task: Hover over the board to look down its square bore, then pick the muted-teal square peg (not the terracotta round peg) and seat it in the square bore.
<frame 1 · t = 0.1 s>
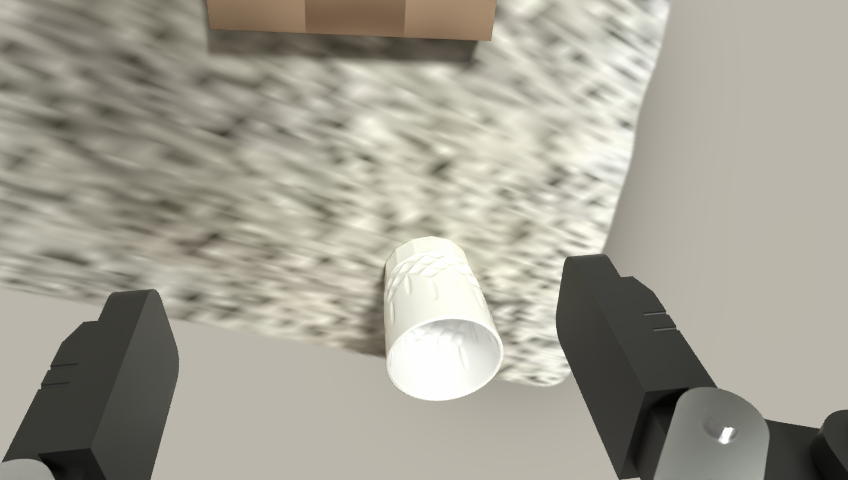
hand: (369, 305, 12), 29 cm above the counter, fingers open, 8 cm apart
white cup: (425, 268, 49), on the counter
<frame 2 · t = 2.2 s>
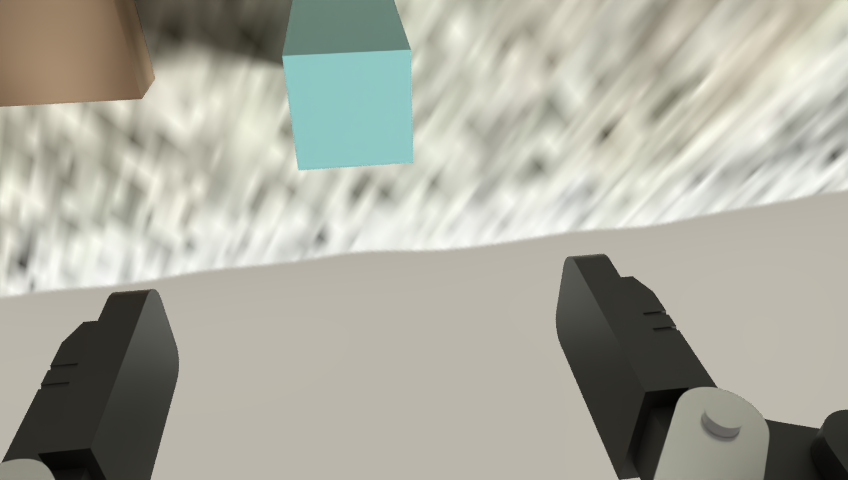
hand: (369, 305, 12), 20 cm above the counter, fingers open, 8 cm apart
square peg: (345, 26, 28), on the counter
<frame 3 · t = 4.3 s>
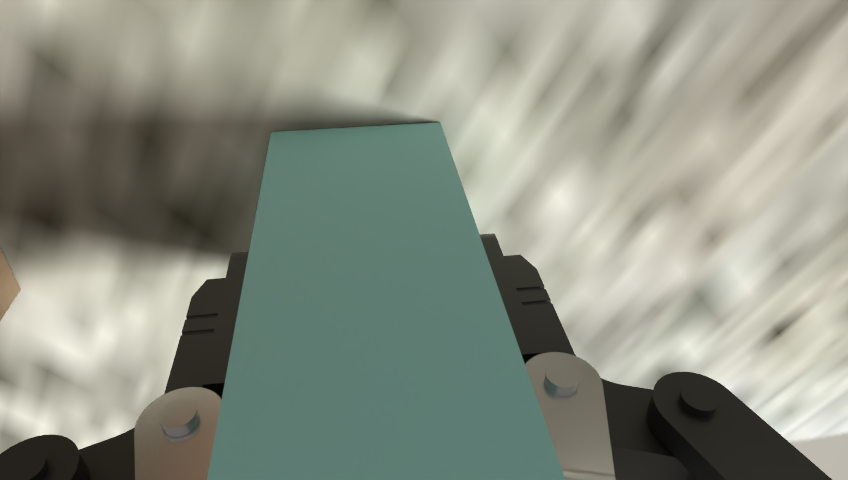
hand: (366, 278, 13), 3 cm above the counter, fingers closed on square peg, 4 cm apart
square peg: (361, 199, 16), on the counter, touching gripper
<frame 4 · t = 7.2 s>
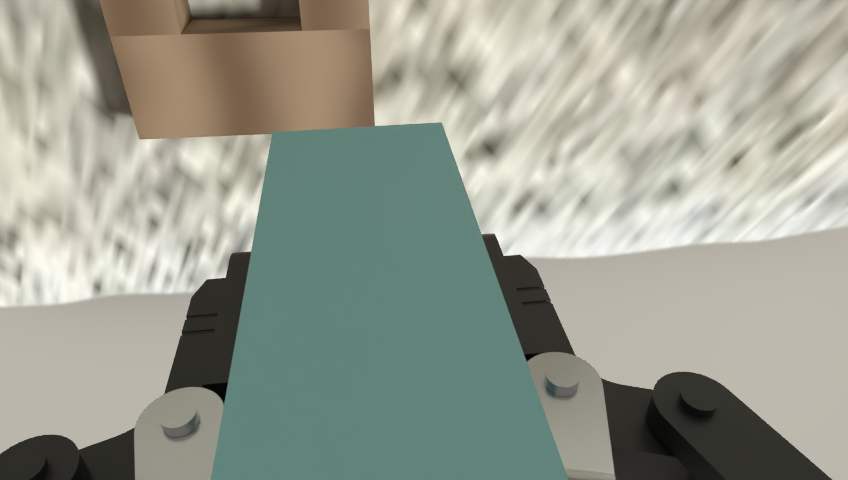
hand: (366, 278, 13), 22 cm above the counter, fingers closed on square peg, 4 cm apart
square peg: (363, 199, 16), point 19 cm above the counter, touching gripper
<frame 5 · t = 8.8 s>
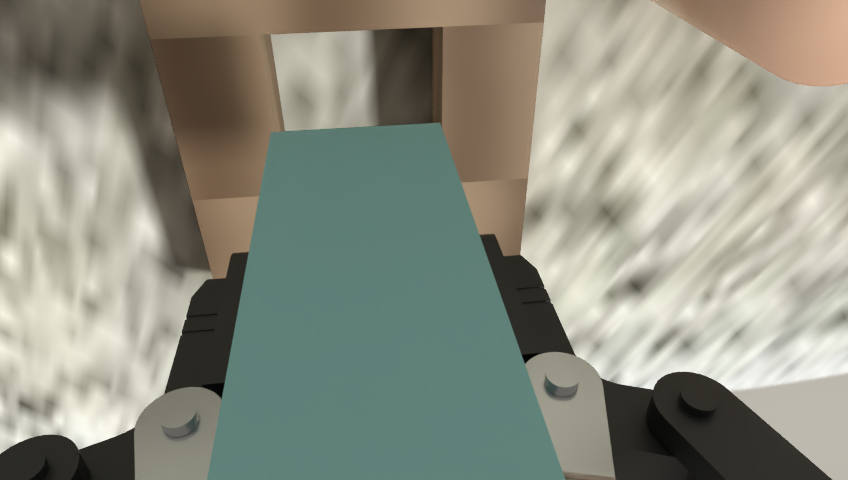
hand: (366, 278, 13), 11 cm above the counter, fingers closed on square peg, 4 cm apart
square peg: (361, 199, 16), point 8 cm above the counter, touching gripper
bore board: (356, 88, 22), on the counter
when the fingers open (5 cm above the counter, at t = 10.3 s): square peg drops 1 cm, resting in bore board.
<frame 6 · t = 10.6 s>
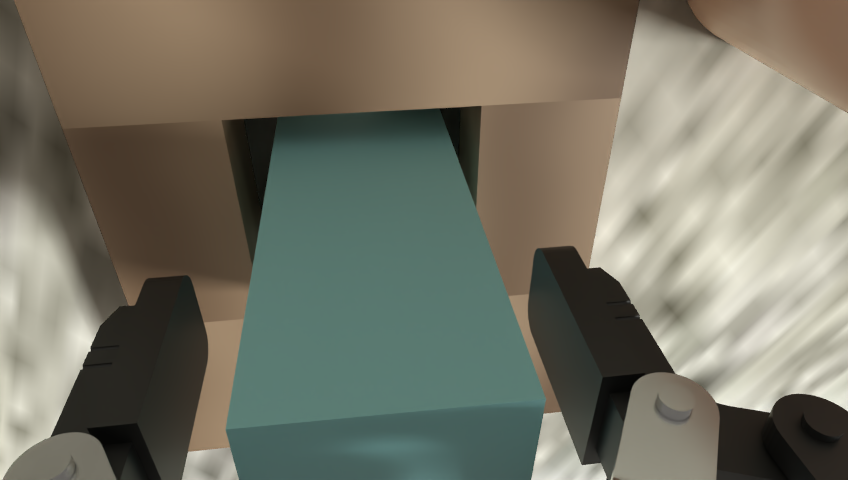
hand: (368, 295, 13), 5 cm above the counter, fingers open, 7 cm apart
square peg: (362, 170, 17), resting in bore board
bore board: (358, 171, 17), on the counter
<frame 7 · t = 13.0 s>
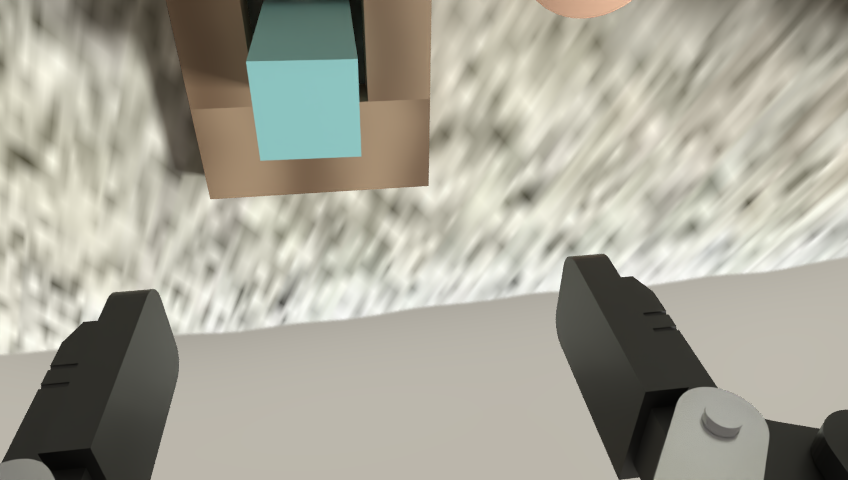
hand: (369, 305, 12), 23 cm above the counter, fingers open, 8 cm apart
square peg: (310, 33, 31), resting in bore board
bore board: (308, 33, 31), on the counter
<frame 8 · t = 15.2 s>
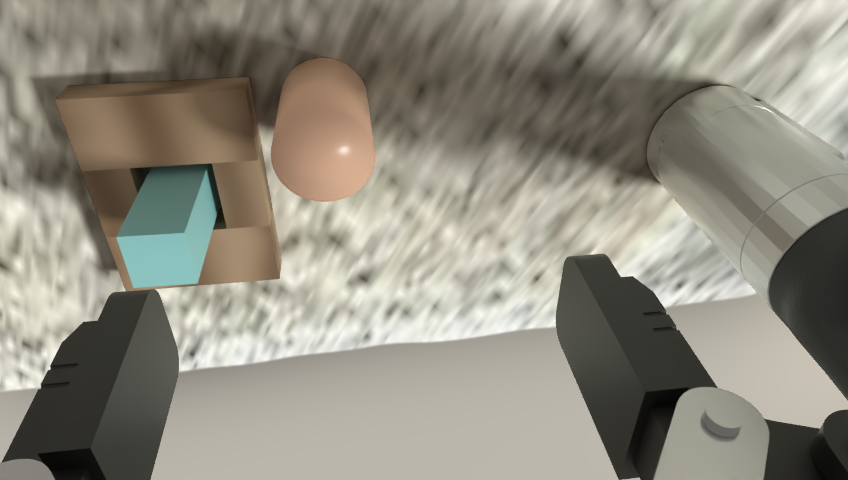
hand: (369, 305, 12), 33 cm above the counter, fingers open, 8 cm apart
square peg: (188, 182, 47), resting in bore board
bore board: (186, 182, 46), on the counter
round peg: (324, 100, 44), on the counter
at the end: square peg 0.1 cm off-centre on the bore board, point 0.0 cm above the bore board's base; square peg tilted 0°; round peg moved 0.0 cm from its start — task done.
